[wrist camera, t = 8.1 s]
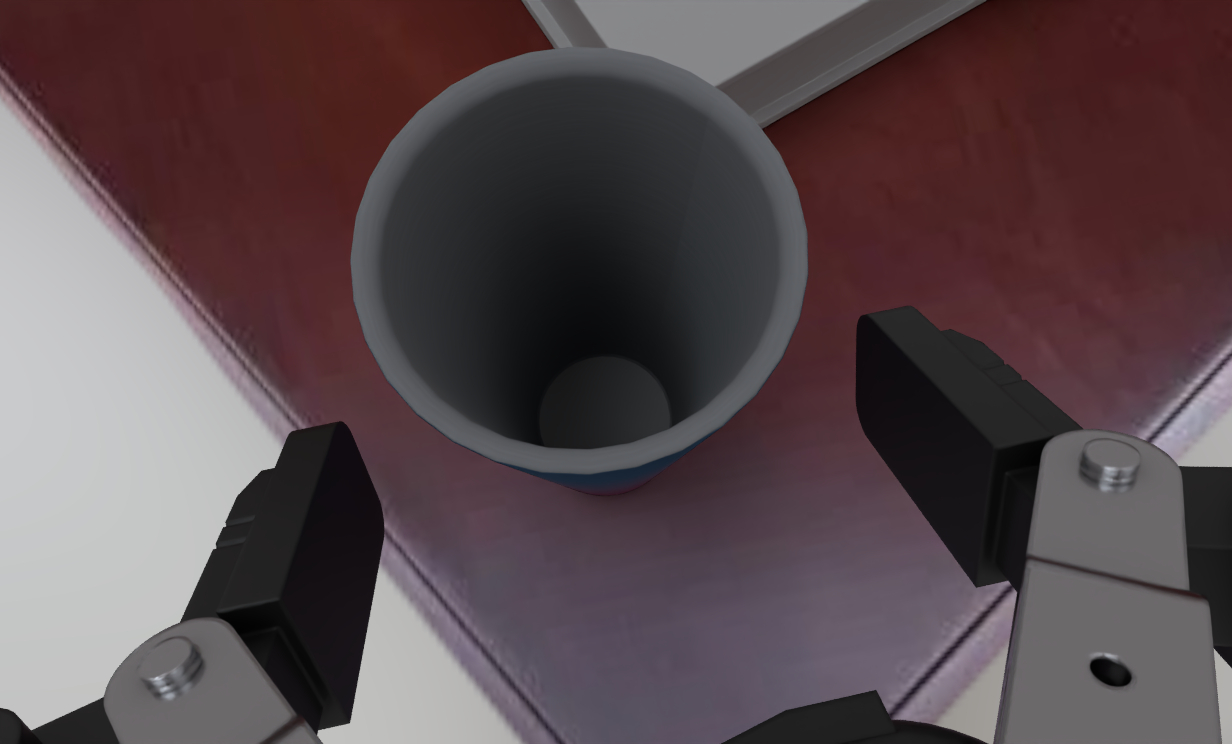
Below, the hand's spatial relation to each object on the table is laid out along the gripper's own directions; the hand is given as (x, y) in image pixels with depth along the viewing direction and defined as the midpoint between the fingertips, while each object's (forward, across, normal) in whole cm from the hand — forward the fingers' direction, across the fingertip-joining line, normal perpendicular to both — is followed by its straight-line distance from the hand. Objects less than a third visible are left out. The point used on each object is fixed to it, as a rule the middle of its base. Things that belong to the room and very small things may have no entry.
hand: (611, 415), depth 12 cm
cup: (+7, 0, +5) cm, 9 cm away
